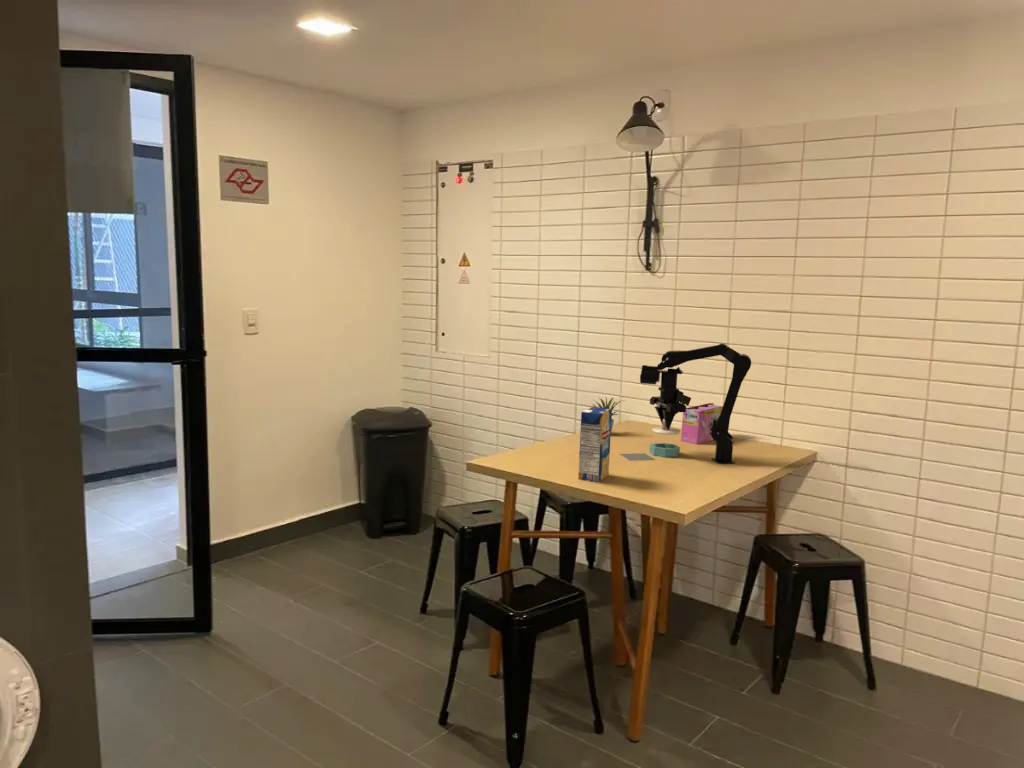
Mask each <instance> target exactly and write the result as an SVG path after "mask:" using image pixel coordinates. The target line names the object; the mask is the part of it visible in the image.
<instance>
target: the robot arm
mask: <svg viewBox="0 0 1024 768" xmlns="http://www.w3.org/2000/svg"><path fill="white" fill-rule="evenodd" d="M718 356H721V357H723V358H724V359H725V360H727V361H728V362H730V363H731V364H732V365H733V368H732V374H731V375H732V377H731V381H730V384H729V386H728V391H727V392H726V395H725V399H724V402H723V405H722V406H723V408H722V411H721V414H720V415H719V417H718V418H716V417H714V419H713V425H712V426H711V428H710V431H711V430H712V431H711V436H712V438H713V439H714V440H713V441H715V442H716V443H715V455H714V457H711V458H710V459H711V460H712V461H714V462H716V463H718V464H736V461H735V460H733V452H734V451H733V450H734V449H733V447H734V445H733V443H734V437H733V435H732V434H731V433H730V432H729V430H730V429H729V427H730V421H731V416H732V413H733V410H734V407H735V403H736V400H737V398H738V395H739V392H740V389H741V385H742V383H743V382H744V379H745V378H746V376H747V374H748V372H749V370H750V369H751V366H752V359H751V357H750V356H749V355H747V354H745V353H739V352H738V351H736V350H734V349H733V348H732V347H730V346H728V344H726V343H719V344H716V345H710V346H705V347H699V348H695V349H689V350H688V349H687V350H669V351H667V352H665V353H663V355H662V356H661V361H660V363H658V364H657V366H654V365H646V364H643V365H641V370H640V375H639V382H640V384H644V385H645V384H646V385H657V383H659V382H660V387H659V386H658V388H657V389H658V391H660V392H659V396H651V397H650V399H649V405H651V406H654V405H656V406H654V409H655V411H656V413H657V415H658V417H659V420H660V423H661V424H662V423H663V419H664V420H665V424H666V428H671V426H672V422H673V420H674V418H675V416H676V415H677V414H678V413H683V412H686V408H687V407H688V406H689V405H690V402H691V400H692V397H690V396H688V395H684V392H683V391H681V390H680V389H679V388H677V387H678V375H682V374H683V373H684V371H683V370H682V369H681V368H680V367H679V365H682V364H685V363H687V362H690V361H696V360H701V359H706V358H713V357H718ZM674 367H677V368H674ZM666 368H667V370H664V369H666Z"/></svg>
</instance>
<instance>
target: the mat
mask: <svg viewBox="0 0 1024 768" xmlns="http://www.w3.org/2000/svg"><path fill="white" fill-rule="evenodd" d="M619 455H620V456H621V457H623V458H625V460H626V459H627V460H628V461H630V462H631V461H632V462H633V461H656V459H655V458H653V456H650V455H649V454H647V453H646V452H645V453H644V452H643V453H642V452H641V453H640V452H639V453H637V452H636V453H619Z"/></svg>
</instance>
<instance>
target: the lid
mask: <svg viewBox="0 0 1024 768" xmlns="http://www.w3.org/2000/svg"><path fill="white" fill-rule="evenodd" d="M661 424H662V426H656V427H653V428H652V429H651V432H652V433H655V434H658V435H664V436H665V435H667V436H670V435H671V436H672V435H674V436H675V435H679V434H681V430H680V429H679V428H674V427H670V428H666V424H665V420H664V419H663V423H661Z"/></svg>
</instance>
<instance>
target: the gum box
mask: <svg viewBox="0 0 1024 768" xmlns="http://www.w3.org/2000/svg"><path fill="white" fill-rule="evenodd" d="M722 408H723V405H717V404H714V403H713V402H712V403H711V402H710V403H703V404H699V405H695V406H690V407H686V412H682V420H681V431H680V435H681V436H680V442H683V443H687V444H694V445H701V444H704V443H707V442H708V443H709V442H712V441H715V440H714V439H713V438H712V436H711V431H712V430H711V431H710V428H711V426H712V425H713V419H714V417H716V418H718V417H719V415H720V414H721V411H722Z"/></svg>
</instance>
